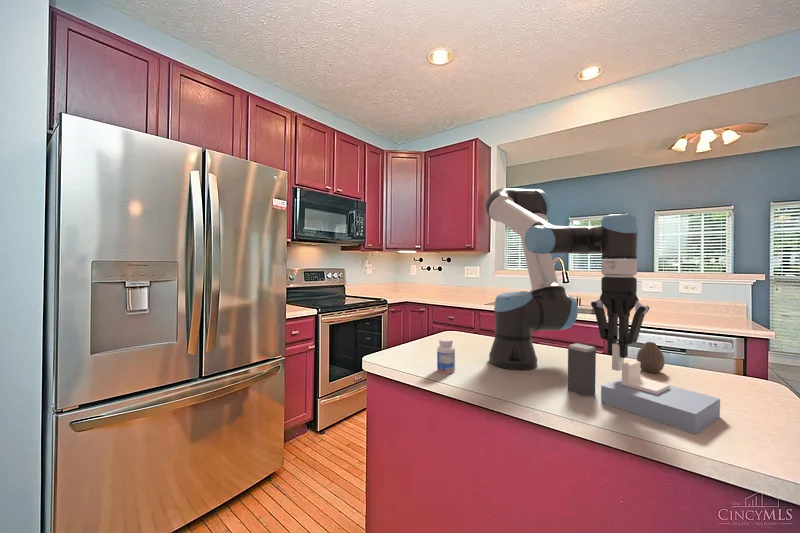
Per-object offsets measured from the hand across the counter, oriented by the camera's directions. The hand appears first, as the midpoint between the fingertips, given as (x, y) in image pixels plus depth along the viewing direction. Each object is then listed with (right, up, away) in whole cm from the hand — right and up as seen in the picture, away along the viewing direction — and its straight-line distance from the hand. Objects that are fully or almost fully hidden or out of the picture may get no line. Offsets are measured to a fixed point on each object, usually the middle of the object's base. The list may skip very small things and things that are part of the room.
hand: (617, 369), depth 87 cm
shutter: (+3, -3, -5) cm, 7 cm away
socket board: (+4, -7, -8) cm, 11 cm away
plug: (-8, -7, +2) cm, 11 cm away
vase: (+22, -6, +19) cm, 29 cm away
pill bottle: (-41, -6, +19) cm, 45 cm away
